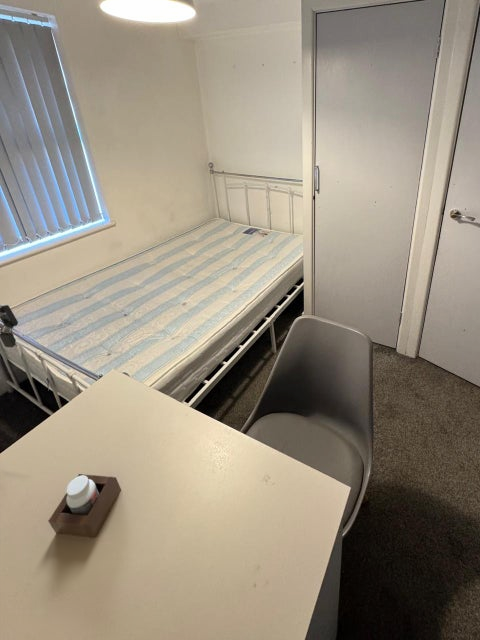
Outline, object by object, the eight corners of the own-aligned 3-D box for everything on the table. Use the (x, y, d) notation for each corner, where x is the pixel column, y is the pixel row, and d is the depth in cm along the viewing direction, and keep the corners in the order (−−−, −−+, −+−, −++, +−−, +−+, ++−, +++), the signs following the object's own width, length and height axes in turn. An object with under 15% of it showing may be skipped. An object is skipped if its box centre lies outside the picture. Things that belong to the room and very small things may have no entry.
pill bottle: (104, 513, 72) (92, 488, 68) (77, 530, 70) (62, 505, 65) (101, 491, 76) (90, 466, 72) (75, 507, 74) (61, 482, 69)
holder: (55, 533, 69) (47, 521, 67) (85, 486, 78) (79, 473, 75) (95, 537, 68) (89, 525, 66) (121, 489, 77) (116, 477, 75)
